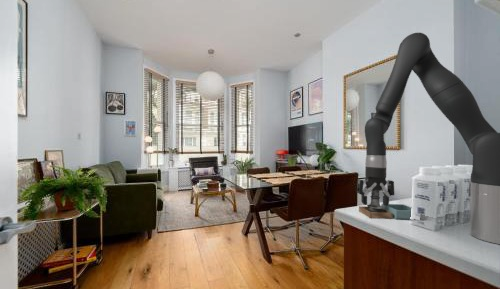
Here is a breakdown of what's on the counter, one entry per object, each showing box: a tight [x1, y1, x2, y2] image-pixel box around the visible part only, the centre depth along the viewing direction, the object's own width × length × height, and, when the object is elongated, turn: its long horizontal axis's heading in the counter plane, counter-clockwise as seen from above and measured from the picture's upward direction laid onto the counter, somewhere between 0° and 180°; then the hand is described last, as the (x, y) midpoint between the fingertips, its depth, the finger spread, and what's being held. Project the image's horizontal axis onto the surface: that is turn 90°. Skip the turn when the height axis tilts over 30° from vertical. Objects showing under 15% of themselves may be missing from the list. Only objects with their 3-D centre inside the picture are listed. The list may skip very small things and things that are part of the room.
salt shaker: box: [366, 190, 383, 213], centre depth 86 cm, size 6×6×12 cm
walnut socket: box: [358, 205, 394, 220], centre depth 86 cm, size 9×9×2 cm
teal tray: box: [380, 203, 412, 221], centre depth 86 cm, size 10×10×4 cm
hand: (375, 204), depth 86 cm, fingers open, 8 cm apart
